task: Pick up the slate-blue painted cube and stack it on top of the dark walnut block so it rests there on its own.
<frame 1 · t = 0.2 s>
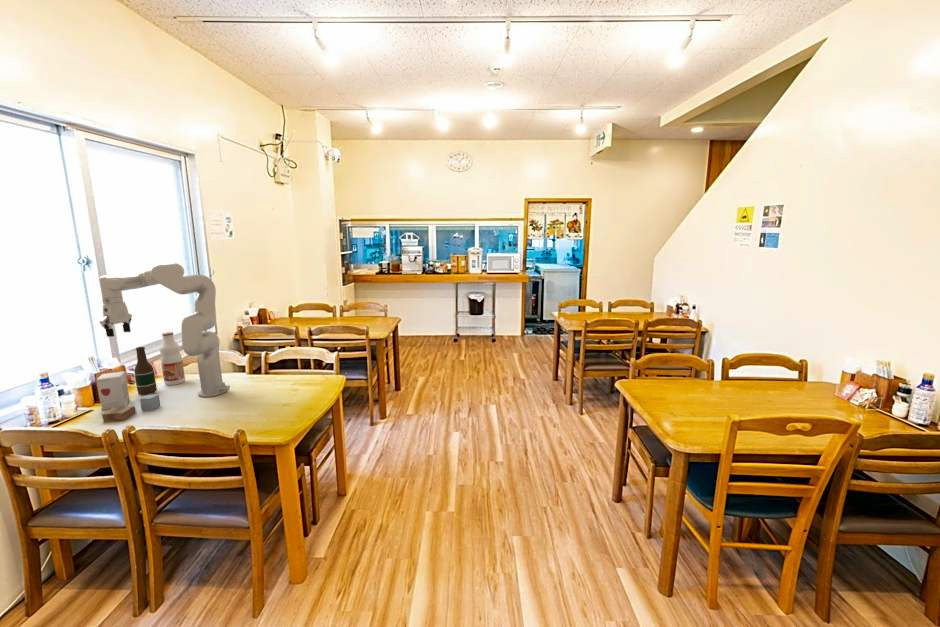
hand: (119, 334, 209), 31 cm above the table, fingers open, 9 cm apart
beer bottle: (147, 392, 215), on the table
fruit juice: (175, 382, 229), on the table
walnut block: (120, 418, 184), on the table
cube: (151, 408, 194), on the table
supplement box: (116, 405, 199), on the table
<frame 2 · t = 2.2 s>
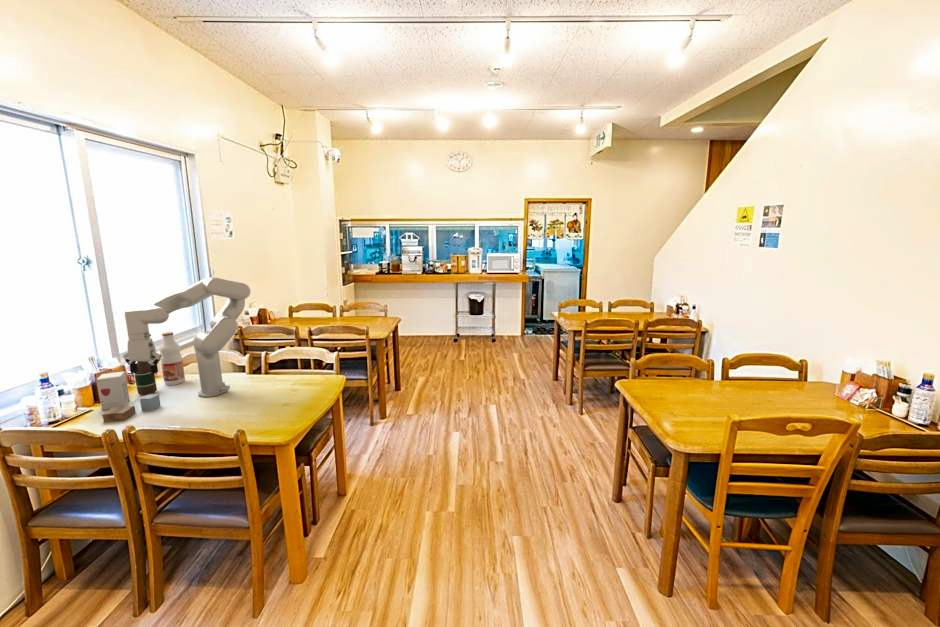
hand: (144, 372, 190), 17 cm above the table, fingers open, 9 cm apart
nothing on the table moved.
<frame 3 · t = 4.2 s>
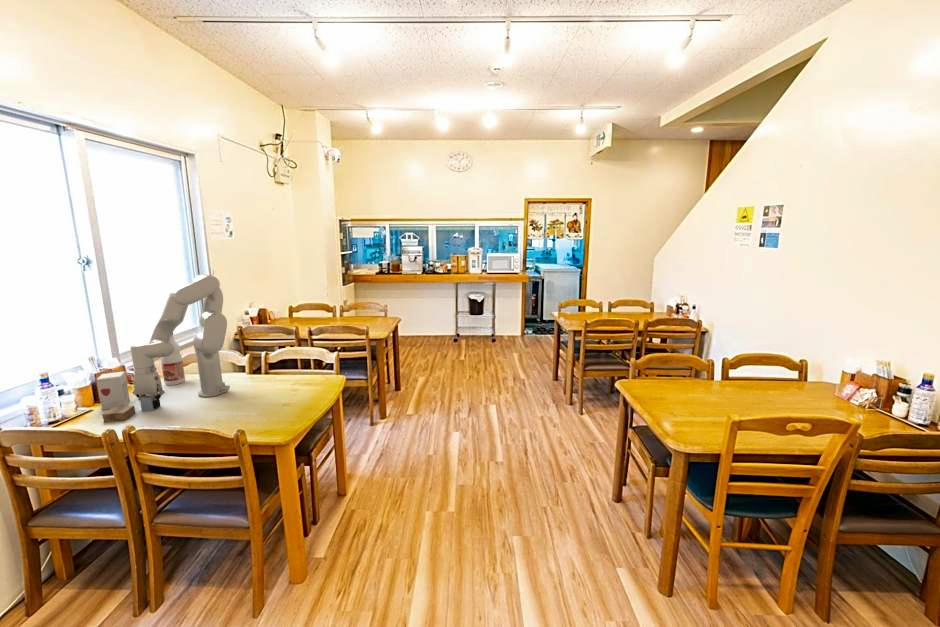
hand: (151, 407, 194), 1 cm above the table, fingers closed on cube, 5 cm apart
cube: (151, 408, 194), on the table, touching gripper
everything else where it was.
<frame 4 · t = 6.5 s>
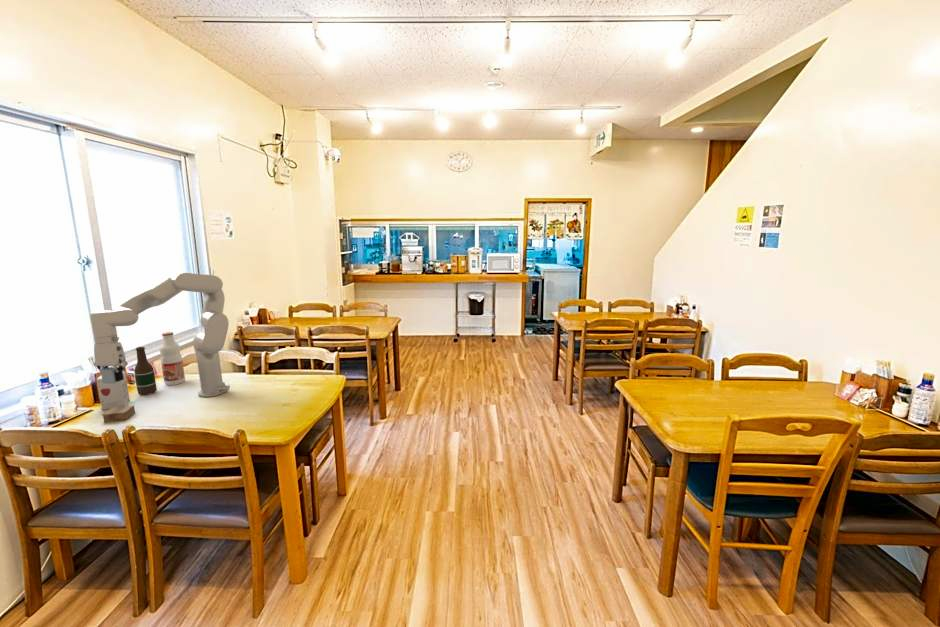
hand: (113, 379, 181), 17 cm above the table, fingers closed on cube, 5 cm apart
cube: (113, 381, 181), point 17 cm above the table, touching gripper
everything else where it was.
when the fingers open (6 cm above the table, at t = 8.9 s): cube drops 2 cm, point 4 cm above the table.
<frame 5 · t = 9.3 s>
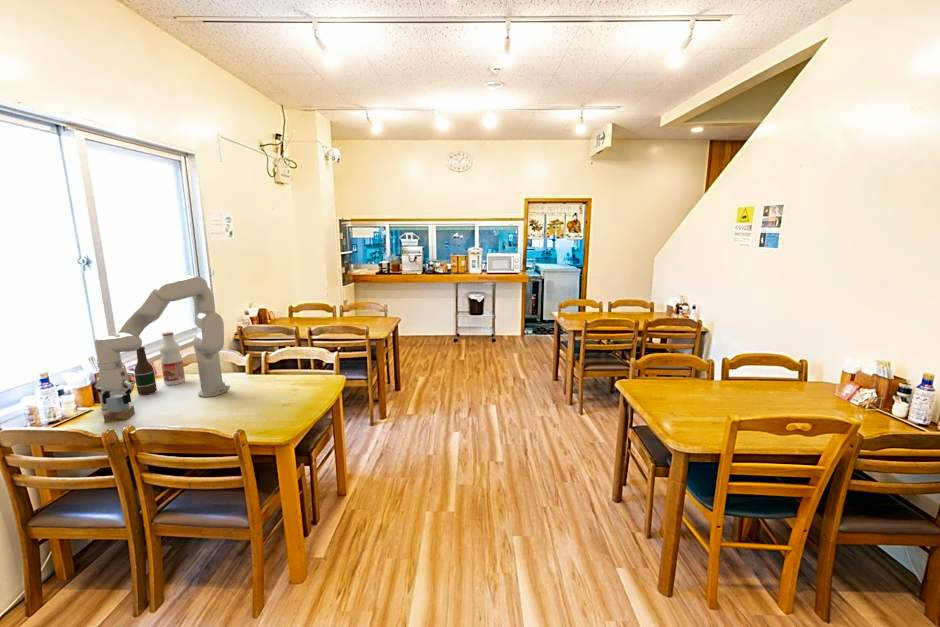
hand: (117, 402, 183), 7 cm above the table, fingers open, 9 cm apart
cube: (118, 409, 184), point 4 cm above the table
everything else where it was.
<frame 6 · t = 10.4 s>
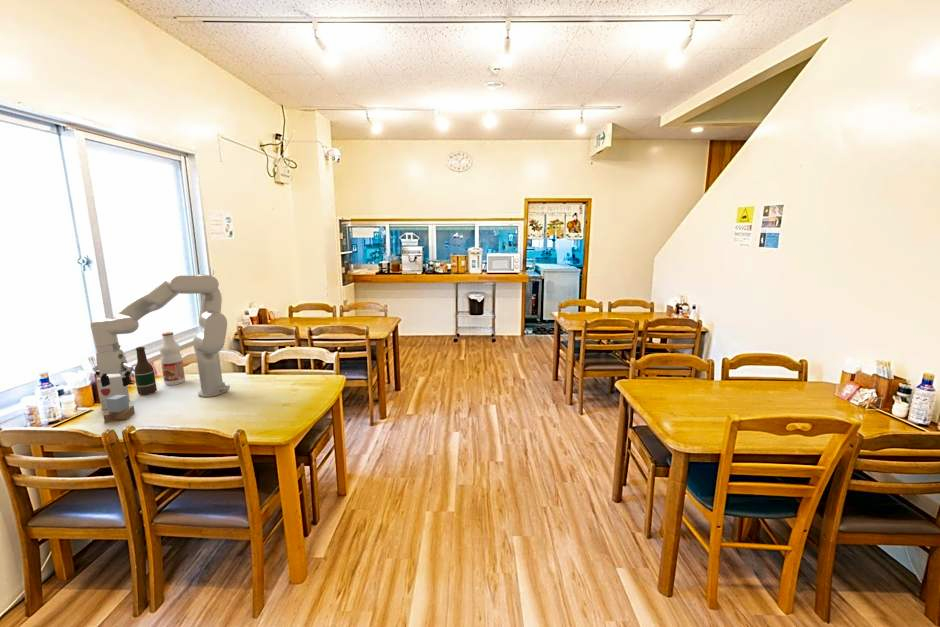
hand: (116, 385, 182), 15 cm above the table, fingers open, 9 cm apart
walnut block: (120, 418, 184), on the table, touching cube
cube: (118, 409, 184), point 4 cm above the table, touching walnut block
everything else where it was.
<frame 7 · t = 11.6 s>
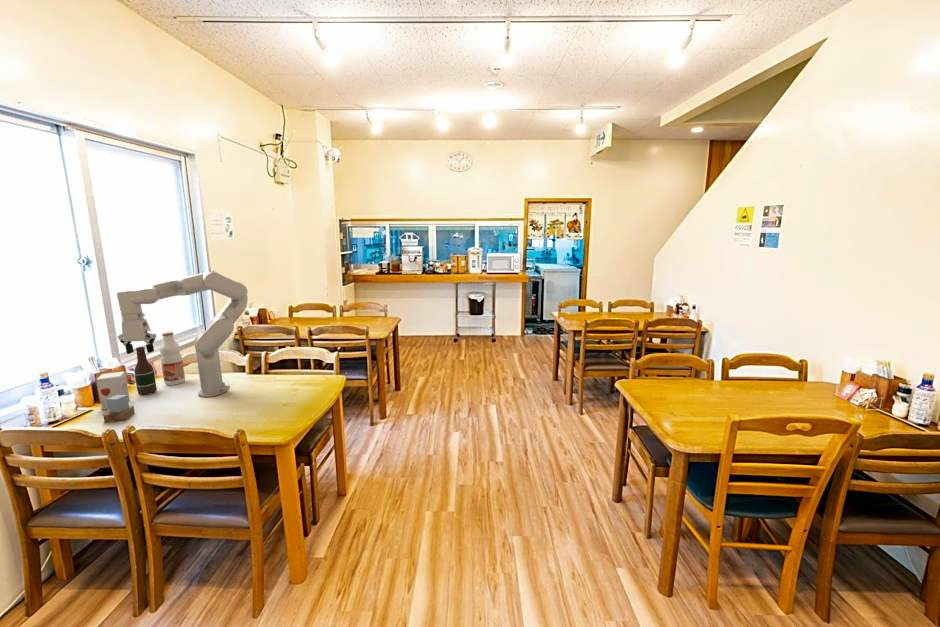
hand: (140, 352, 193), 26 cm above the table, fingers open, 9 cm apart
nothing on the table moved.
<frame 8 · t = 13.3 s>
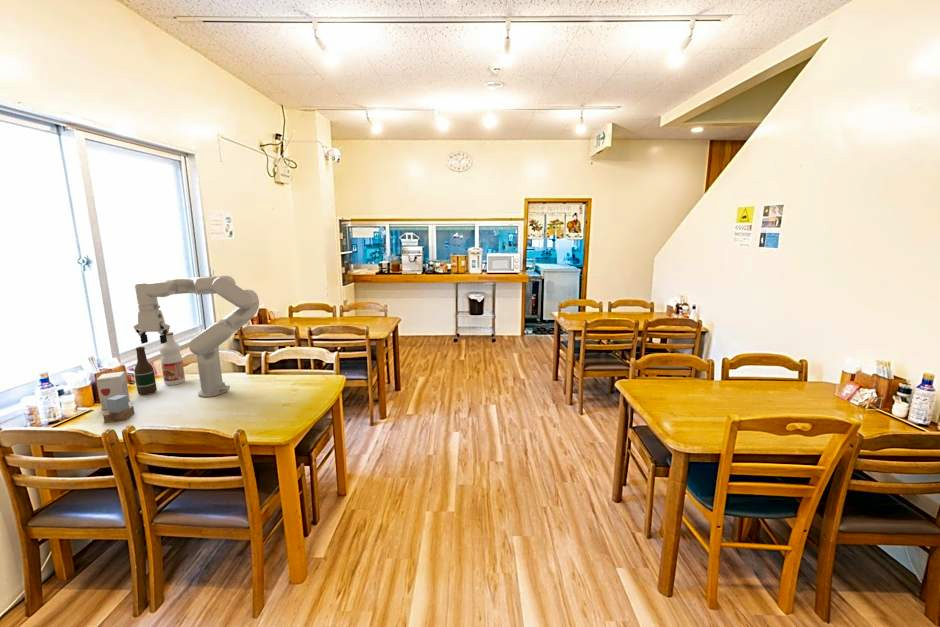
hand: (154, 342, 201), 28 cm above the table, fingers open, 9 cm apart
nothing on the table moved.
at the end: cube 0.2 cm off-centre on the walnut block, point 4.0 cm above the walnut block's base; cube tilted 0°; the gripper is holding nothing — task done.
